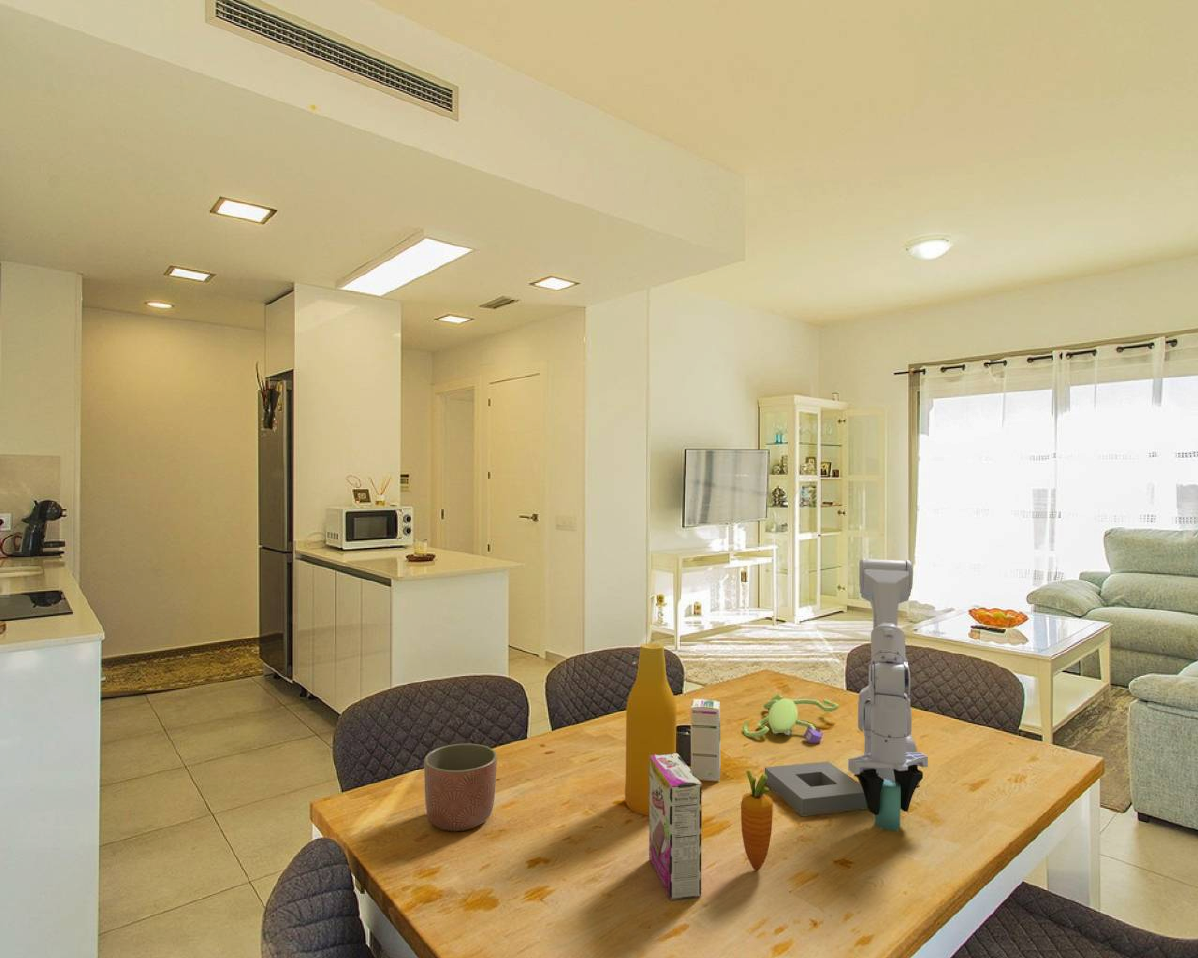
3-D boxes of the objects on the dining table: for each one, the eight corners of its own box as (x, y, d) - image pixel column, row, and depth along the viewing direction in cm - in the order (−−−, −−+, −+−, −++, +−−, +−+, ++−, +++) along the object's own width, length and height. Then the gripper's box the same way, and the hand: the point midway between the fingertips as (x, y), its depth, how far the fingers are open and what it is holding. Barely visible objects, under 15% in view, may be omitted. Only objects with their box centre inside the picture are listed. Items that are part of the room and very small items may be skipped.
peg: (890, 817, 122) (890, 778, 122) (905, 828, 118) (905, 787, 118) (870, 820, 121) (870, 780, 121) (885, 831, 117) (885, 790, 117)
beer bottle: (618, 811, 123) (620, 648, 123) (633, 790, 132) (635, 638, 132) (668, 820, 120) (670, 653, 120) (680, 798, 128) (682, 642, 129)
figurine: (842, 719, 175) (842, 697, 175) (818, 753, 152) (818, 728, 152) (770, 706, 184) (770, 685, 184) (737, 737, 161) (737, 713, 161)
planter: (433, 844, 111) (434, 776, 111) (415, 811, 122) (416, 749, 122) (506, 827, 117) (506, 763, 117) (483, 797, 128) (484, 738, 128)
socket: (827, 776, 139) (827, 761, 139) (871, 807, 125) (871, 791, 125) (764, 782, 136) (764, 767, 136) (802, 816, 122) (802, 799, 122)
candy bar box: (646, 859, 107) (647, 754, 107) (677, 856, 108) (678, 751, 108) (668, 902, 96) (670, 784, 96) (702, 898, 97) (703, 781, 98)
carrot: (735, 862, 107) (736, 765, 107) (766, 861, 107) (767, 764, 107) (745, 880, 102) (746, 778, 102) (777, 879, 102) (778, 778, 102)
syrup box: (719, 782, 136) (720, 708, 136) (689, 779, 137) (690, 706, 137) (720, 770, 141) (721, 699, 141) (691, 767, 142) (692, 697, 142)
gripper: (866, 743, 114) (865, 826, 114) (940, 737, 117) (940, 816, 117) (841, 728, 121) (840, 806, 121) (912, 722, 124) (911, 798, 124)
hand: (887, 810), depth 119 cm, fingers open, 5 cm apart
